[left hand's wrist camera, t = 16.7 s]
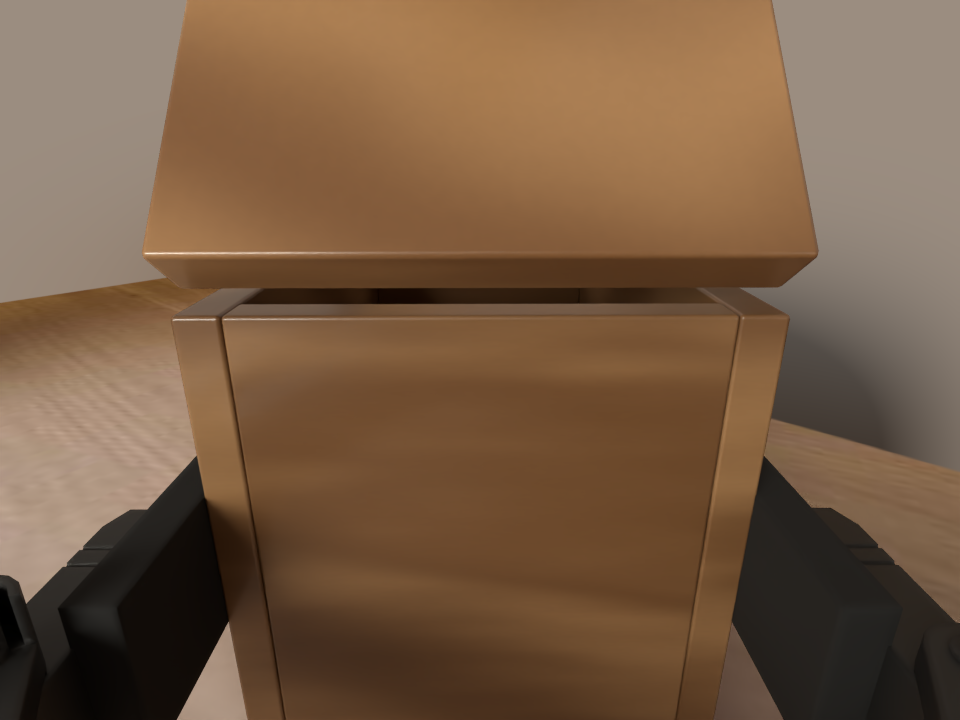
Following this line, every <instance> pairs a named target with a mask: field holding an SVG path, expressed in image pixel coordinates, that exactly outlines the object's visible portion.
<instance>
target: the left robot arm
mask: <svg viewBox="0 0 960 720" xmlns="http://www.w3.org/2000/svg"><path fill="white" fill-rule="evenodd" d="M83 547H84V548H83V550H79V551H78V552H77V553H76V554H75V555H74V556H73V557H72V558H71V559H70V560H69V561H68V562H67V566H66V567H62V568H61V569H60V570H59V571H58V572H57V573H56V574H55V575H54V576H53V577H52V578H51V579H50V580H49V582H48V583H47V584H46V585H45V586H44V587H43V588H42V589H41V590H40V591H39V592H38V593H37V594H36V595H35V596H34V597H33V598H32V599H31V600H30V601H29V602H28V603H27V604H26V602H25V599H24V596H23V593H22V590H21V587H20V584H19V582H18V581H16V580H15V579H13V578H11V577H10V576H5V575H0V720H177V718H178V716H179V714H180V712H181V710H182V709H183V707H184V705H185V703H186V701H187V699H188V697H189V695H190V693H191V692H192V690H193V688H194V686H195V684H196V682H197V680H198V678H199V676H200V675H201V673H202V671H203V669H204V667H205V665H206V663H207V661H208V659H209V657H210V656H211V654H212V652H213V650H214V648H215V646H216V644H217V642H218V640H219V639H220V637H221V635H222V633H223V631H224V629H225V627H226V625H227V623H228V622H229V620H228V615H227V610H226V604H225V599H224V594H223V589H222V584H221V578H220V573H219V568H218V563H217V557H216V552H215V547H214V542H213V537H212V531H211V526H210V521H209V516H208V511H207V505H206V500H205V495H204V490H203V485H202V479H201V474H200V469H199V464H198V459H197V456H196V457H195V458H194V459H193V460H192V461H191V463H190V464H189V465H188V466H187V467H186V468H185V469H184V470H183V471H182V472H181V473H180V475H179V476H178V477H177V478H176V479H175V480H174V481H173V482H172V483H171V484H170V486H169V487H168V488H167V489H166V490H165V491H164V492H163V493H162V494H161V495H160V496H159V498H158V499H157V500H156V501H155V502H154V503H153V504H152V505H151V506H150V507H149V509H148V510H129V511H128V512H126V513H124V514H123V515H121V516H119V517H118V518H116V519H114V520H113V521H111V522H110V523H108V524H106V525H105V526H103V527H102V528H101V529H100V530H99V531H98V532H97V533H96V534H95V535H94V536H93V537H92V538H91V539H90V540H89V541H88V542H87V543H86V544H85V545H84V546H83ZM732 622H733V624H734V626H735V628H736V630H737V632H738V634H739V636H740V638H741V639H742V641H743V643H744V645H745V647H746V649H747V651H748V653H749V655H750V656H751V658H752V660H753V662H754V664H755V666H756V668H757V670H758V672H759V673H760V675H761V677H762V679H763V681H764V683H765V685H766V687H767V689H768V690H769V692H770V694H771V696H772V698H773V700H774V702H775V704H776V706H777V708H778V709H779V711H780V713H781V715H782V717H783V719H784V720H960V623H956V622H955V621H954V620H953V619H952V618H951V617H950V616H949V615H948V614H947V613H946V612H945V611H944V610H943V609H942V608H941V607H940V606H939V605H938V604H937V603H936V602H935V601H934V600H933V599H932V598H931V597H930V596H929V595H928V594H927V593H926V592H925V591H924V590H923V589H922V588H921V587H920V586H919V585H918V584H917V583H916V582H915V581H914V580H913V579H912V578H911V577H910V576H909V575H908V574H907V573H906V572H905V571H904V570H903V569H902V568H901V567H900V566H899V565H895V564H894V560H893V559H892V558H891V557H890V556H889V555H888V554H887V553H886V552H885V551H884V550H883V549H882V548H878V544H877V543H876V542H875V541H874V540H873V539H872V538H871V537H870V536H869V535H868V534H867V533H866V532H865V531H864V530H863V529H862V528H861V527H860V526H859V525H858V524H856V523H855V522H853V521H851V520H850V519H848V518H846V517H845V516H843V515H841V514H840V513H838V512H836V511H835V510H833V509H832V508H811V507H810V506H809V505H808V503H807V502H806V501H805V500H804V499H803V498H802V497H801V496H800V495H799V494H798V493H797V491H796V490H795V489H794V488H793V487H792V486H791V485H790V484H789V483H788V482H787V480H786V479H785V478H784V477H783V476H782V475H781V474H780V473H779V472H778V471H777V470H776V468H775V467H774V466H773V465H772V464H771V463H770V462H769V461H768V460H767V459H766V458H765V456H764V457H763V462H762V467H761V473H760V478H759V483H758V488H757V494H756V496H755V501H754V506H753V512H752V517H751V522H750V527H749V533H748V538H747V543H746V548H745V554H744V559H743V564H742V569H741V574H740V580H739V585H738V590H737V595H736V601H735V606H734V611H733V616H732Z"/></svg>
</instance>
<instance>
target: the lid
mask: <svg viewBox="0 0 960 720" xmlns="http://www.w3.org/2000/svg"><path fill="white" fill-rule="evenodd" d="M142 254H143V257H144V259H145V260H147V261H148V262H149V263H150V264H151V265H153V266H154V267H155V268H156V269H157V270H159V271H160V272H161V273H162V274H163V275H165V276H166V277H167V278H168V279H170V280H171V281H172V282H173V283H174V284H176V285H177V286H178V287H180V288H185V289H187V288H734V287H780V286H782V285H783V284H784V283H786V282H787V281H788V280H789V279H791V278H792V277H793V276H794V275H796V274H797V273H798V272H799V271H800V270H802V269H803V268H804V267H805V266H807V265H808V264H809V263H810V262H811V261H813V260H814V259H815V258H816V257H817V255H818V245H817V240H816V235H815V230H814V224H813V219H812V213H811V208H810V203H809V197H808V192H807V187H806V181H805V176H804V170H803V165H802V160H801V154H800V149H799V144H798V138H797V133H796V127H795V122H794V117H793V111H792V106H791V101H790V95H789V90H788V85H787V79H786V74H785V69H784V63H783V58H782V52H781V47H780V42H779V36H778V31H777V26H776V20H775V15H774V10H773V4H772V0H187V3H186V8H185V14H184V20H183V25H182V31H181V36H180V42H179V47H178V53H177V59H176V64H175V70H174V75H173V81H172V87H171V92H170V98H169V103H168V109H167V115H166V120H165V126H164V132H163V137H162V143H161V148H160V154H159V160H158V165H157V171H156V177H155V182H154V188H153V193H152V199H151V204H150V210H149V216H148V221H147V227H146V233H145V238H144V244H143V249H142Z"/></svg>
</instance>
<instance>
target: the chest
mask: <svg viewBox="0 0 960 720" xmlns="http://www.w3.org/2000/svg"><path fill="white" fill-rule="evenodd" d="M789 321H790V318H789V315H787V314H786V313H784V312H782V311H780V310H778V309H777V308H775V307H773V306H771V305H769V304H767V303H766V302H764V301H762V300H760V299H758V298H757V297H755V296H753V295H751V294H749V293H748V292H746V291H744V290H742V289H740V288H738V287H734V288H221V289H220V290H218V291H216V292H214V293H213V294H211V295H209V296H207V297H206V298H204V299H202V300H200V301H199V302H197V303H195V304H193V305H192V306H190V307H188V308H186V309H185V310H183V311H181V312H179V313H178V314H176V315H174V316H172V318H171V323H172V328H173V334H174V339H175V344H176V349H177V354H178V360H179V365H180V370H181V375H182V380H183V386H184V391H185V396H186V401H187V406H188V412H189V417H190V422H191V427H192V433H193V438H194V443H195V448H196V453H197V459H198V464H199V469H200V474H201V479H202V485H203V490H204V495H205V500H206V505H207V511H208V516H209V521H210V526H211V531H212V537H213V542H214V547H215V552H216V557H217V563H218V568H219V573H220V578H221V584H222V589H223V594H224V599H225V604H226V610H227V615H228V620H229V625H230V630H231V636H232V641H233V646H234V651H235V656H236V662H237V667H238V672H239V677H240V682H241V688H242V693H243V698H244V703H245V709H246V714H247V719H248V720H713V719H714V714H715V708H716V703H717V698H718V693H719V687H720V682H721V677H722V672H723V666H724V661H725V656H726V651H727V645H728V640H729V635H730V630H731V625H732V616H733V611H734V606H735V601H736V595H737V590H738V585H739V580H740V574H741V569H742V564H743V559H744V554H745V548H746V543H747V538H748V533H749V527H750V522H751V517H752V512H753V506H754V501H755V496H756V494H757V488H758V483H759V478H760V473H761V467H762V462H763V457H764V452H765V446H766V441H767V436H768V431H769V425H770V420H771V415H772V410H773V404H774V399H775V394H776V389H777V383H778V378H779V373H780V368H781V362H782V357H783V352H784V347H785V342H786V336H787V331H788V326H789Z"/></svg>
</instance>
